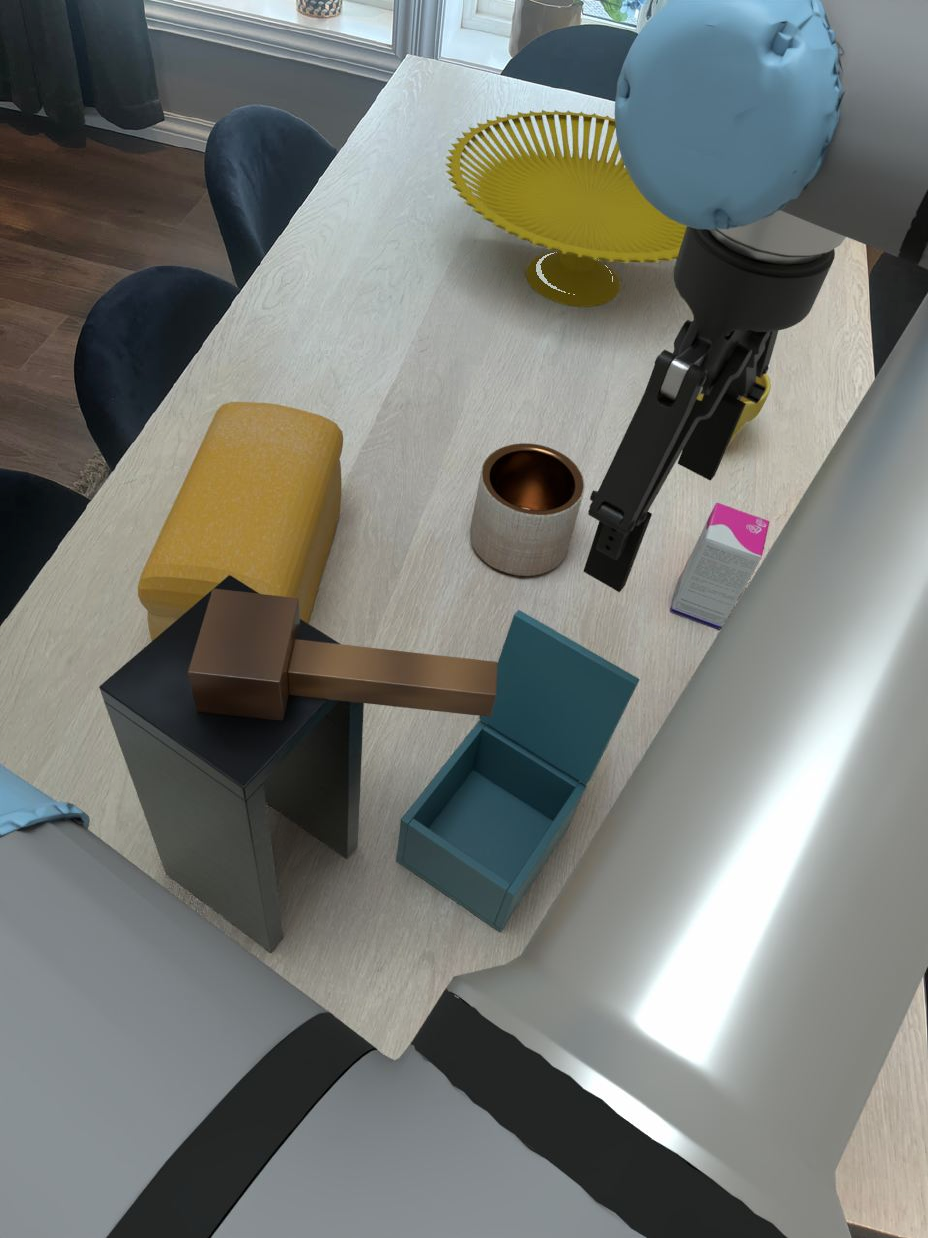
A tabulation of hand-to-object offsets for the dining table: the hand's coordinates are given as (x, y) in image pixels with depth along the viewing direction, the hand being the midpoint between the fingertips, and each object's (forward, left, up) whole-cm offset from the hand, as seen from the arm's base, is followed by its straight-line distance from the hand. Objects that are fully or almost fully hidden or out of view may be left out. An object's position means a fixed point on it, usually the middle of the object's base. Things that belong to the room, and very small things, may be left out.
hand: (652, 521), depth 63 cm
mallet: (-22, +9, -3) cm, 24 cm away
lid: (-7, +1, -15) cm, 17 cm away
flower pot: (+49, +8, -30) cm, 58 cm away
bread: (-3, +35, -30) cm, 46 cm away
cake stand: (+69, +38, -30) cm, 84 cm away
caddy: (-13, +1, -30) cm, 32 cm away
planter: (+19, +17, -30) cm, 39 cm away
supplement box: (+24, -3, -30) cm, 38 cm away
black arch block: (-25, +15, -30) cm, 42 cm away
